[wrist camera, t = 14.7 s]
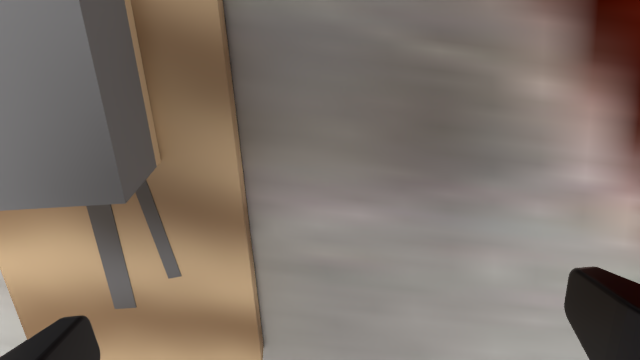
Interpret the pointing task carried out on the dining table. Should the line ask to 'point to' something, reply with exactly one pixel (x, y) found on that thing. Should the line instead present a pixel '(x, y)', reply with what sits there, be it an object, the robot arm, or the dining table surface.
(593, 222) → the dining table surface
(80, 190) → the block
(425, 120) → the dining table surface
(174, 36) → the oak board
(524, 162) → the dining table surface
